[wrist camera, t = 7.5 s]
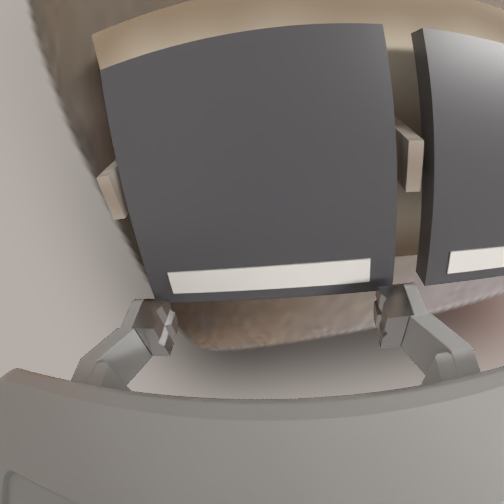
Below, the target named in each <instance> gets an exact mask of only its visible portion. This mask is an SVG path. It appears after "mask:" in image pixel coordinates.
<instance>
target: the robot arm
mask: <svg viewBox="0 0 504 504" xmlns="http://www.w3.org/2000/svg"><path fill="white" fill-rule="evenodd" d="M376 297H377V300H376V301H375V302H374V321H375V326H376V327H378V328H379V329H378V334H377V336H378V340H379V345H380V349H381V348H392V347H401V348H402V350H403V351H404V352H405V353H406V354H407V355H408V356H409V357H410V358H411V359H412V361H413V362H414V363H415V364H416V365H417V366H418V367H419V368H420V370H421V371H422V372H423V373H424V374H425V375H426V376H425V378H424V380H423V382H422V384H421V385H420V386H414V387H408V388H402V389H395V390H388V391H380V392H372V393H364V394H354V395H344V396H333V397H319V398H318V397H317V398H298V399H217V398H197V397H183V396H171V395H161V394H151V393H143V392H135V391H131V390H130V389H129V388H128V387H127V386H126V385H127V384H128V383H129V382H130V381H131V380H132V379H133V378H134V376H135V375H136V374H137V373H138V372H139V371H140V370H141V369H142V368H143V366H144V365H145V364H146V363H147V362H148V361H149V360H150V358H151V357H152V356H170V354H171V351H172V348H173V344H174V343H173V341H172V338H173V337H174V336H175V335H176V333H177V330H178V319H177V316H176V314H175V312H173V311H172V310H170V308H171V303H170V302H169V300H168V299H135V300H133V302H132V303H131V306H130V308H129V310H128V312H127V314H126V317H125V319H124V321H123V323H122V326H121V328H117V329H116V330H115V331H113V332H112V333H111V334H110V335H109V336H107V337H106V338H105V339H104V340H103V341H101V342H100V343H99V344H98V345H97V346H96V347H94V348H93V349H92V350H91V351H89V352H88V353H87V354H86V355H85V356H83V357H82V358H81V359H80V361H79V364H78V366H77V368H76V371H75V373H74V375H73V377H72V380H71V381H69V380H64V379H60V378H55V377H51V376H46V375H42V374H39V373H35V372H30V371H27V370H23V369H19V368H16V369H13V370H11V371H9V372H8V373H6V374H5V375H4V376H3V377H1V378H0V504H504V366H502V367H499V368H495V369H491V370H488V371H484V372H480V369H479V366H478V363H477V360H476V357H475V354H474V352H473V349H472V346H470V345H469V344H468V343H467V342H466V341H464V340H463V339H462V338H461V337H459V336H458V335H457V334H456V333H455V332H453V331H452V330H451V329H450V328H448V327H447V326H446V325H445V324H443V323H442V322H441V321H440V320H438V319H437V318H436V317H435V316H433V315H432V314H431V313H430V314H427V312H426V309H425V306H424V304H423V301H422V298H421V296H420V293H419V291H418V288H417V286H416V284H415V283H414V282H413V283H404V284H395V285H386V286H377V289H376Z"/></svg>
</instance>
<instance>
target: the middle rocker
mask: <svg viewBox="0 0 504 504" xmlns="http://www.w3.org/2000/svg"><path fill="white" fill-rule="evenodd" d="M411 37H412V43H413V50H414V56H415V63H416V71H417V80H418V90H419V101H420V114H421V133H422V139H423V140H424V153H423V166H422V203H421V222H420V236H419V247H418V258H417V267H416V272H417V274H418V275H419V277H420V279H421V280H422V282H423V284H424V285H425V286H427V285H435V284H444V283H452V282H460V281H467V280H475V279H482V278H489V277H496V276H503V275H504V44H503V43H499V42H496V41H492V40H488V39H484V38H479V37H475V36H470V35H465V34H460V33H455V32H449V31H443V30H436V29H429V28H421V29H419V30H417V31H415V32H413V33H411Z"/></svg>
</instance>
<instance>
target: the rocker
mask: <svg viewBox="0 0 504 504" xmlns="http://www.w3.org/2000/svg"><path fill="white" fill-rule="evenodd" d="M100 74H101V81H102V87H103V94H104V100H105V106H106V112H107V117H108V123H109V128H110V133H111V138H112V143H113V148H114V153H115V157H116V162H117V166H118V171H119V175H120V179H121V183H122V187H123V192H124V196H125V200H126V203H127V207H128V211H129V215H130V219H131V222H132V226H133V229H134V233H135V236H136V240H137V243H138V247H139V250H140V253H141V257H142V260H143V263H144V266H145V270H146V273H147V276H148V279H149V282H150V285H151V288H152V291H153V294H154V297H155V299H168V300H169V302H170V303H175V302H209V301H234V300H255V299H273V298H290V297H305V296H319V295H332V294H345V293H357V292H368V291H376V289H377V286H386V285H392V283H393V272H394V259H395V243H396V221H397V153H396V132H395V117H394V104H393V94H392V84H391V76H390V68H389V60H388V54H387V47H386V41H385V35H384V29H383V24H369V23H326V24H305V25H292V26H281V27H272V28H263V29H256V30H249V31H242V32H236V33H230V34H225V35H220V36H215V37H210V38H205V39H200V40H196V41H192V42H188V43H183V44H180V45H176V46H172V47H168V48H165V49H161V50H158V51H154V52H151V53H148V54H144V55H141V56H138V57H135V58H132V59H129V60H126V61H123V62H120V63H118V64H115V65H112V66H110V67H107V68H104V69H102V70H100Z"/></svg>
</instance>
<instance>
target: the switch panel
mask: <svg viewBox="0 0 504 504" xmlns="http://www.w3.org/2000/svg"><path fill="white" fill-rule="evenodd" d="M326 23H369V24H383V29H384V35H385V41H386V47H387V54H388V60H389V68H390V76H391V84H392V94H393V104H394V117H395V132H396V153H397V221H396V243H395V256H406V255H418V247H419V236H420V222H421V203H422V166H423V153H424V140H423V139H422V133H421V114H420V101H419V90H418V80H417V71H416V63H415V56H414V50H413V43H412V37H411V33H413V32H415V31H417V30H419V29H421V28H429V29H436V30H443V31H449V32H455V33H460V34H465V35H470V36H475V37H479V38H484V39H488V40H492V41H496V42H499V43H503V44H504V9H501V8H498V7H495V6H492V5H488V4H485V3H482V2H478V1H474V0H191V1H187V2H184V3H180V4H176V5H173V6H169V7H166V8H162V9H159V10H156V11H153V12H150V13H147V14H144V15H141V16H138V17H135V18H132V19H130V20H127V21H124V22H122V23H119V24H117V25H114V26H112V27H109V28H107V29H104V30H102V31H100V32H97V33H95V34H93V35H92V39H93V43H94V47H95V51H96V55H97V59H98V63H99V67H100V70H102V69H104V68H107V67H110V66H112V65H115V64H118V63H120V62H123V61H126V60H129V59H132V58H135V57H138V56H141V55H144V54H148V53H151V52H154V51H158V50H161V49H165V48H168V47H172V46H176V45H180V44H183V43H188V42H192V41H196V40H200V39H205V38H210V37H215V36H220V35H225V34H230V33H236V32H242V31H249V30H256V29H263V28H272V27H281V26H292V25H305V24H326ZM96 179H97V181H98V184H99V186H100V189H101V192H102V194H103V196H104V199H105V201H106V204H107V206H108V209H109V211H110V213H111V216H112V218H113V220H118V219H125V218H126V216H127V215H128V214H129V211H128V207H127V203H126V200H125V196H124V192H123V187H122V183H121V179H120V175H119V171H118V166H117V162H116V160H115V161H113V162H112V163H111V164H110V165H109V166H108V167H107V168H106V169H105V170H104V171H103V172H102V173H101V174H100V175H99V176H98V177H97V178H96Z"/></svg>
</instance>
